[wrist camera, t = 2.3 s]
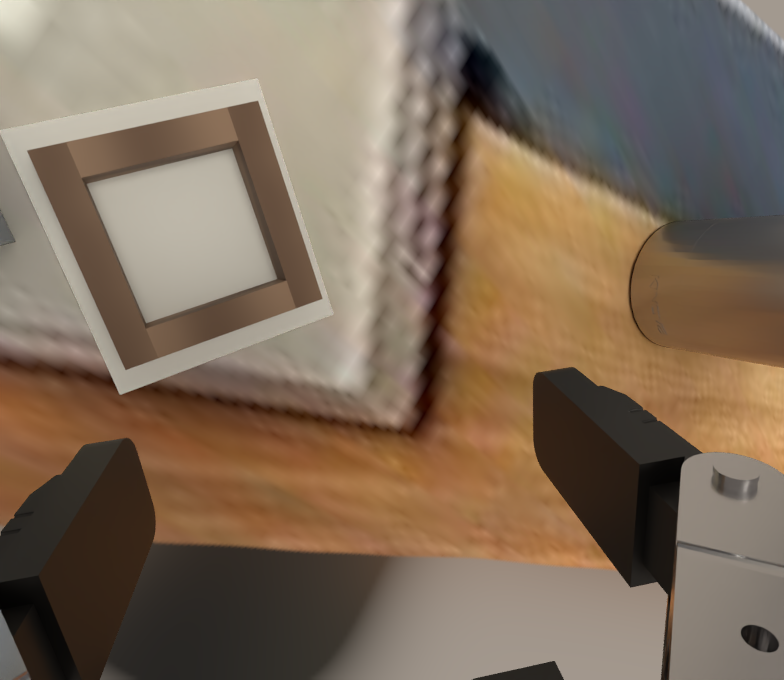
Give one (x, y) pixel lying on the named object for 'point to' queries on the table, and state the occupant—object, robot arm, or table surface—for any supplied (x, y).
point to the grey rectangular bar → (5, 232)
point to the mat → (170, 228)
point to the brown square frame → (160, 147)
